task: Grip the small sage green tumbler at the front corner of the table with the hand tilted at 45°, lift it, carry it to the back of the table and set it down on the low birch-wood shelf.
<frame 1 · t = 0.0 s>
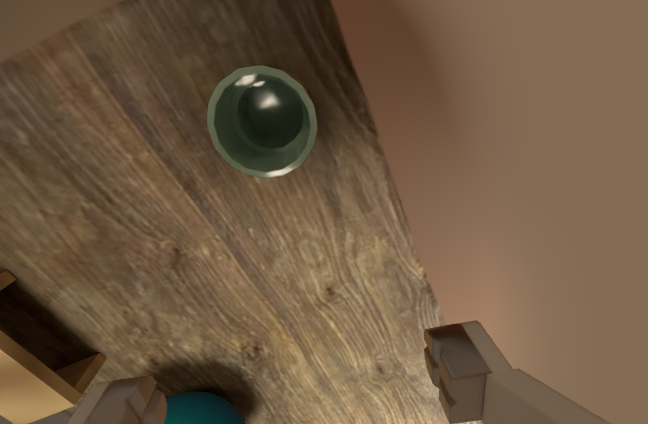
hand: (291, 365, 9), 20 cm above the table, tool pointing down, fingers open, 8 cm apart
shelf: (35, 329, 33), on the table
decorative orb: (203, 401, 40), on the table
sage green tumbler: (276, 108, 25), on the table
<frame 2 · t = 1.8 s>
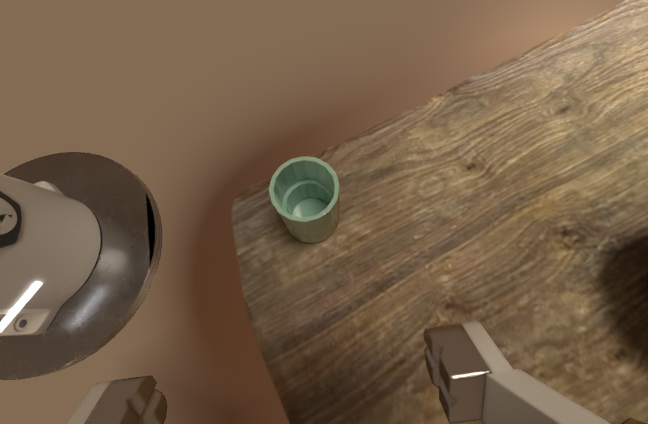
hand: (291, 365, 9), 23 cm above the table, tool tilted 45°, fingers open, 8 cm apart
sage green tumbler: (312, 218, 35), on the table
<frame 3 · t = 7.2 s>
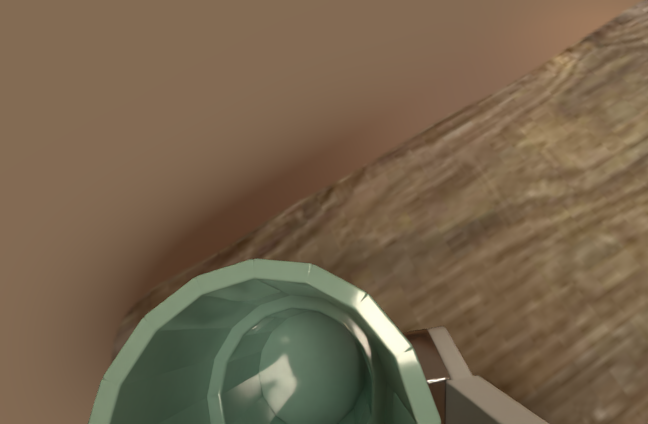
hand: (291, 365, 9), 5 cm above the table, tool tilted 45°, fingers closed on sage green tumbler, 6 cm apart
sage green tumbler: (312, 365, 13), on the table, touching gripper
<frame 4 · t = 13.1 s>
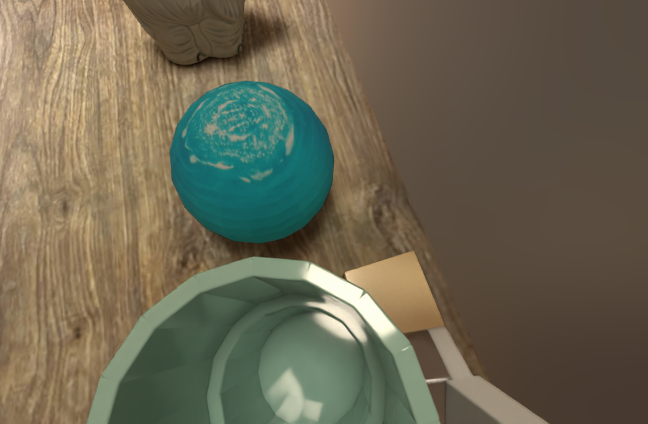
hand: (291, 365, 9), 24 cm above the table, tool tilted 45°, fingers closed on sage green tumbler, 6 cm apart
shelf: (393, 334, 31), on the table
decorative orb: (268, 195, 36), on the table
sage green tumbler: (312, 364, 13), point 19 cm above the table, tilted 5°, touching gripper
teapot: (223, 39, 44), on the table
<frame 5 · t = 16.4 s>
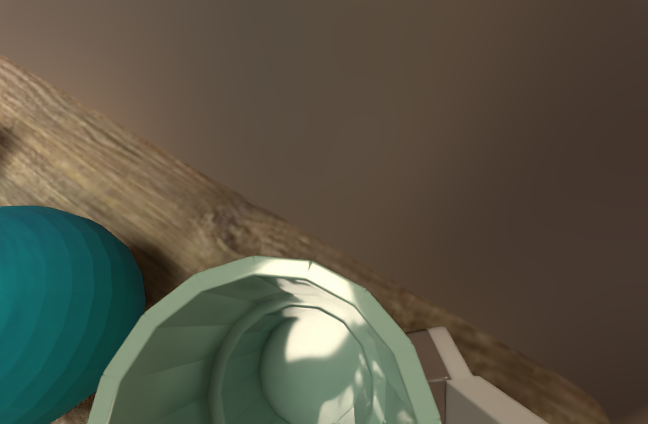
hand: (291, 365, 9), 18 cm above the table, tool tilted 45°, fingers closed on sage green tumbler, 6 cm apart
decorative orb: (103, 315, 28), on the table
sage green tumbler: (312, 364, 13), point 13 cm above the table, touching gripper
when the fingers open (10 cm above the table, at t = 19.0 s): sage green tumbler stays where it is, resting on shelf.
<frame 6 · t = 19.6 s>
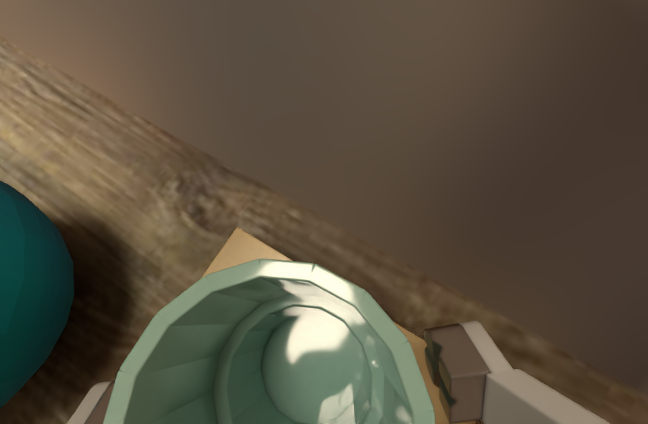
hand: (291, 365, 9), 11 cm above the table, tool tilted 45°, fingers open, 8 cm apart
shelf: (321, 352, 19), on the table
decorative orb: (29, 310, 21), on the table
sage green tumbler: (313, 362, 14), point 5 cm above the table, touching shelf
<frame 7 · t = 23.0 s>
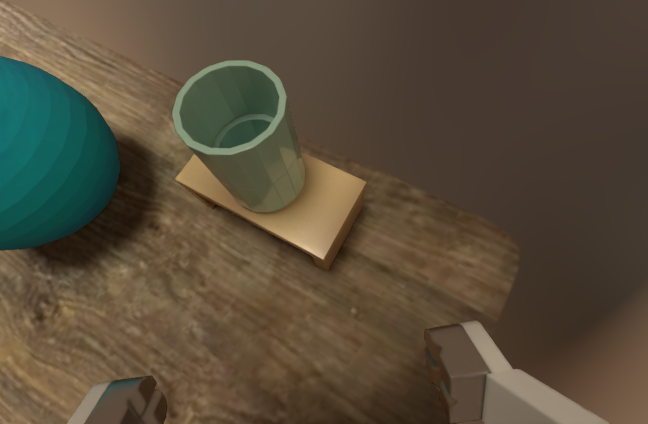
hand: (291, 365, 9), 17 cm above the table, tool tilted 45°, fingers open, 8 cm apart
shelf: (281, 205, 29), on the table
decorative orb: (84, 194, 31), on the table
sage green tumbler: (268, 179, 24), point 5 cm above the table, touching shelf
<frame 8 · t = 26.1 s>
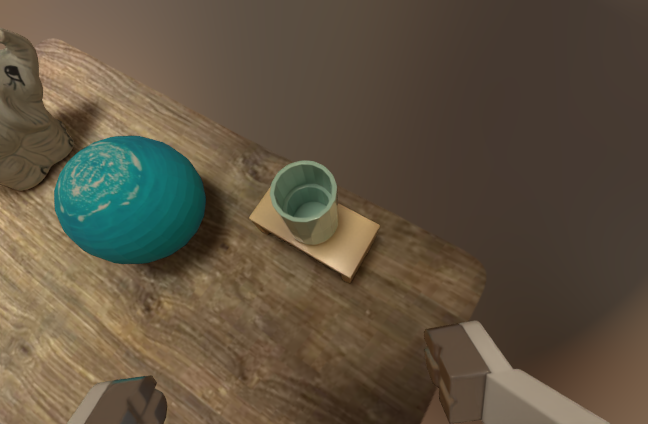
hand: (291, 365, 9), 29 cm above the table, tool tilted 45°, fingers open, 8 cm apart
shelf: (317, 234, 41), on the table
decorative orb: (173, 220, 43), on the table
sage green tumbler: (313, 221, 36), point 5 cm above the table, touching shelf
teapot: (53, 146, 49), on the table
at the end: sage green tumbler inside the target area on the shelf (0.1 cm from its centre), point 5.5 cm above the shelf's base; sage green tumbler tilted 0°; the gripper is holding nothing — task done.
